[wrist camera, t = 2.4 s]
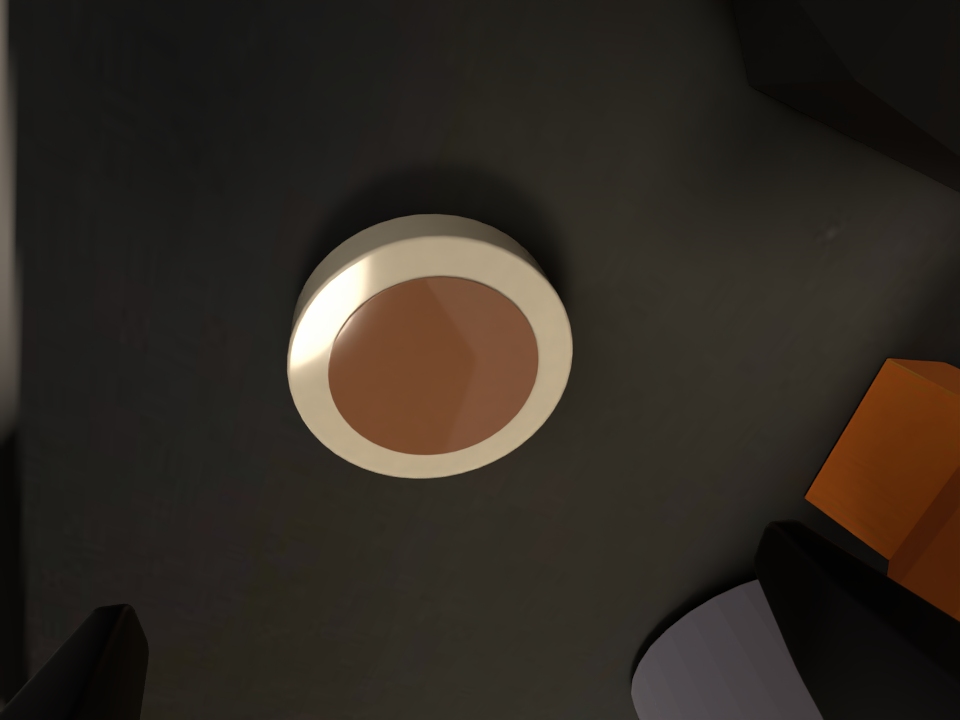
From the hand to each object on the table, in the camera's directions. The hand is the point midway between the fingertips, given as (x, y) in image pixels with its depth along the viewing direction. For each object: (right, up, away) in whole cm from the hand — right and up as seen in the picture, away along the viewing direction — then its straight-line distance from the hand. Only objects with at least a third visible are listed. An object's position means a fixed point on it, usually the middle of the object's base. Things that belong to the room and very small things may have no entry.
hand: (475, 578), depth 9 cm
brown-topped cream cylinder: (-1, +4, +6) cm, 7 cm away
